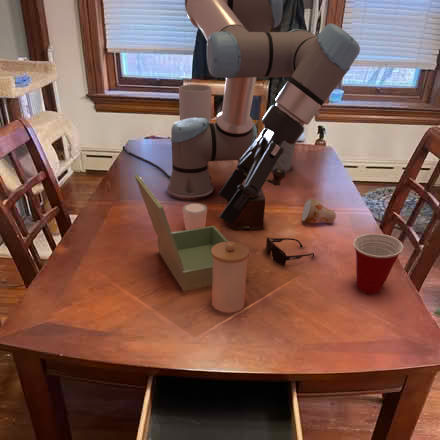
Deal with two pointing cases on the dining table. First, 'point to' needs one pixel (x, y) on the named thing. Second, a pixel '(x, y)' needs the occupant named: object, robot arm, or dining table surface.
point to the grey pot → (285, 156)
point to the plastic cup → (375, 260)
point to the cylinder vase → (195, 101)
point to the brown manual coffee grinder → (256, 207)
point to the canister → (229, 276)
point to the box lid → (159, 221)
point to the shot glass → (194, 215)
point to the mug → (317, 213)
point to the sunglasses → (278, 253)
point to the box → (193, 256)
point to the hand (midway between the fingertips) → (224, 208)
